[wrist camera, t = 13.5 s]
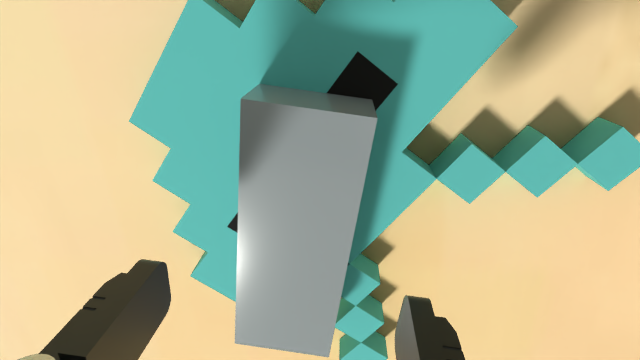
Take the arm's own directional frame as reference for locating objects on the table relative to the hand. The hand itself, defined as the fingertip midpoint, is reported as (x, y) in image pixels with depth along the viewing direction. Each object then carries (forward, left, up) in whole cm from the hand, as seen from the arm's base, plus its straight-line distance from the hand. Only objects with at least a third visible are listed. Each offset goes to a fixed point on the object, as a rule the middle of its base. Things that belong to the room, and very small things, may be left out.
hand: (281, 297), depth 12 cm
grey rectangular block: (+1, +1, -5) cm, 5 cm away
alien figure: (-2, +1, -9) cm, 9 cm away
